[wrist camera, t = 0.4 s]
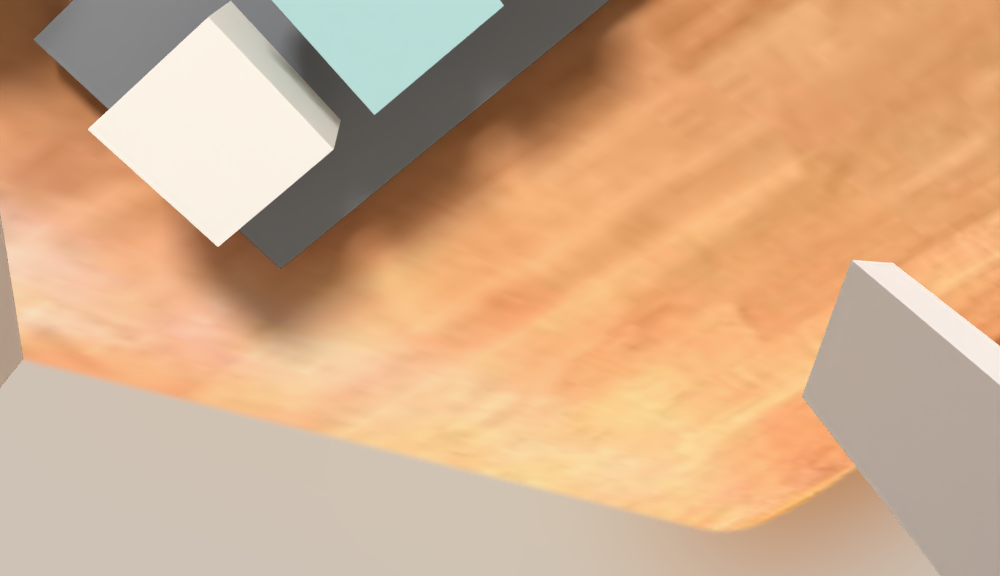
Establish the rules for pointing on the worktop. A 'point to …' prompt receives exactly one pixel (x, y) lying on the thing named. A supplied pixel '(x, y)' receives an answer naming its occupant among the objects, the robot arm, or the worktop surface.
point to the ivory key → (220, 125)
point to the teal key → (385, 38)
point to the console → (316, 91)
